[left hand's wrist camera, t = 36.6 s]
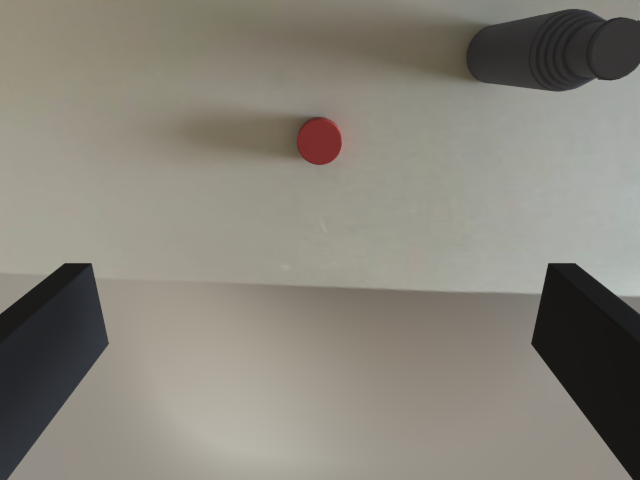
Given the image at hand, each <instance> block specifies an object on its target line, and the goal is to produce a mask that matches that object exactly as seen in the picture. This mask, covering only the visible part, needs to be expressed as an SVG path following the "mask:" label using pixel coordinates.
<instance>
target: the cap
mask: <svg viewBox="0 0 640 480" xmlns="http://www.w3.org/2000/svg"><path fill="white" fill-rule="evenodd" d="M297 144H298V149H299V152H300V154H301V155H302V157H303V158H304V159H305V160H307V161H308V162H310V163H312V164H317V165H323V164H327V163H329V162H331V161H333V160H334V159H335V158H336V157H337V156H338V154H339V152H340V150H341V146H342V138H341V134H340V131H339V129H338V127H337V126H336V124H335V123H334V122H332V121H331V120H329V119H327V118H323V117H316V118H312V119H310V120H308V121H307V122H306V123H305V124H304V125H303V126H302V128H301V130H300V132H299V136H298V140H297Z"/></svg>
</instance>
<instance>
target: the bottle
mask: <svg viewBox="0 0 640 480" xmlns="http://www.w3.org/2000/svg"><path fill="white" fill-rule="evenodd" d="M467 64H468V68H469V70H470V72H471V74H472V75H473V76H474V77H475V78H476V79H478V80H479V81H482V82H485V83H492V84H500V85H508V86H516V87H524V88H532V89H540V90H548V91H566V90H571V89H575V88H578V87H580V86H582V85H584V84H586V83H588V82H590V81H591V80H593V79H595V78H598V79H599V80H616V79H620V78H622V77H624V76H627V75H628V74H629V73H631V72H632V71H634V70H635V69H636V68H637V67H638V65H639V64H640V21H639V20H638V21H636V20H633V19H628V18H622V17H619V18H613V19H610V20H608V21H606V20H604V19H603V18H601V17H599V16H597V15H596V14H594V13H592V12H590V11H586V10H579V9H568V10H563V11H558V12H554V13H549V14H544V15H539V16H535V17H530V18H525V19H521V20H516V21H511V22H506V23H502V24H497V25H492V26H489V27H486V28H485V29H483V30H481V31H480V32H479V33H478V34H477V35H476V36H475V37H474V38H473V40H472V41H471V43H470V45H469V48H468V52H467Z"/></svg>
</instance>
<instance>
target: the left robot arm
mask: <svg viewBox="0 0 640 480" xmlns="http://www.w3.org/2000/svg"><path fill="white" fill-rule="evenodd" d="M108 344H109V343H108V338H107V333H106V329H105V324H104V319H103V315H102V310H101V305H100V301H99V296H98V291H97V287H96V282H95V277H94V273H93V268H92V263H65V264H63V265H62V266H61V267H60V268H58V269H57V270H56V271H54V272H53V273H52V274H51V275H49V276H48V277H47V278H46V279H44V280H43V281H42V282H41V283H39V284H38V285H37V286H36V287H34V288H33V289H32V290H30V291H29V292H28V293H27V294H25V295H24V296H23V297H22V298H20V299H19V300H18V301H17V302H15V303H14V304H13V305H11V306H10V307H9V308H8V309H6V310H5V311H4V312H3V313H1V314H0V480H7V479H8V478H9V476H10V475H11V474H12V472H13V471H14V470H15V468H16V467H17V466H18V464H19V463H20V462H21V460H22V459H23V458H24V456H25V455H26V454H27V452H28V451H29V449H30V448H31V447H32V446H33V444H34V443H35V442H36V440H37V439H38V438H39V436H40V435H41V434H42V432H43V431H44V430H45V428H46V427H47V426H48V424H49V423H50V422H51V420H52V419H53V417H54V416H55V415H56V414H57V412H58V411H59V409H60V408H61V407H62V405H63V404H64V403H65V402H66V400H67V399H68V397H69V396H70V395H71V394H72V392H73V391H74V390H75V388H76V387H77V386H78V384H79V383H80V381H81V380H82V379H83V377H84V376H85V375H86V374H87V372H88V371H89V370H90V368H91V367H92V365H93V364H94V363H95V362H96V360H97V359H98V358H99V356H100V355H101V354H102V352H103V351H104V349H105V348H106V347H107V345H108ZM531 344H532V346H533V347H534V348H535V350H536V351H537V352H538V354H539V355H540V356H541V358H542V359H543V360H544V362H545V363H546V364H547V366H548V367H549V368H550V370H551V371H552V372H553V373H554V375H555V376H556V378H557V379H558V380H559V382H560V383H561V384H562V386H563V387H564V388H565V390H566V391H567V392H568V394H569V395H570V396H571V398H572V399H573V400H574V401H575V403H576V404H577V406H578V407H579V408H580V410H581V411H582V412H583V414H584V415H585V416H586V418H587V419H588V420H589V422H590V423H591V424H592V426H593V427H594V428H595V430H596V431H597V432H598V434H599V435H600V436H601V438H602V439H603V440H604V442H605V443H606V444H607V446H608V447H609V448H610V450H611V451H612V452H613V454H614V455H615V456H616V458H617V459H618V460H619V462H620V463H621V464H622V466H623V467H624V468H625V470H626V471H627V472H628V474H629V475H630V476H631V478H632V479H633V480H640V314H639V313H637V312H636V311H635V310H634V309H632V308H631V307H630V306H629V305H627V304H626V303H625V302H623V301H622V300H621V299H620V298H618V297H617V296H616V295H615V294H613V293H612V292H611V291H610V290H608V289H607V288H606V287H605V286H603V285H602V284H601V283H599V282H598V281H597V280H596V279H594V278H593V277H592V276H591V275H589V274H588V273H587V272H585V271H584V270H583V269H582V268H580V267H579V266H578V265H577V264H575V263H548V268H547V273H546V277H545V282H544V287H543V291H542V296H541V301H540V305H539V310H538V315H537V319H536V324H535V329H534V333H533V338H532V343H531Z"/></svg>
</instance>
